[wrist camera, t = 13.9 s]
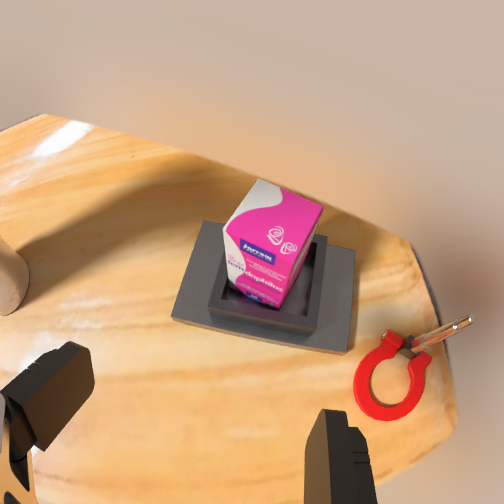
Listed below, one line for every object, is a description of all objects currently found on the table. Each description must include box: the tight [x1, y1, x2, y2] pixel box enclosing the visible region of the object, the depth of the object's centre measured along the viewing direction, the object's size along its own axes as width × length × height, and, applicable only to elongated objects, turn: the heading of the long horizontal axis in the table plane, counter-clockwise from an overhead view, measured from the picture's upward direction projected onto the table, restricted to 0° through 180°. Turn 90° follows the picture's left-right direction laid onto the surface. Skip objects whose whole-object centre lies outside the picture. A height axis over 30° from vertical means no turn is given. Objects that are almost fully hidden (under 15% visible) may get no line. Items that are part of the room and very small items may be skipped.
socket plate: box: [171, 221, 355, 355], centre depth 31 cm, size 18×12×4 cm, turn 78°
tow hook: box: [353, 313, 476, 421], centre depth 22 cm, size 8×13×9 cm
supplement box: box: [223, 178, 323, 311], centre depth 27 cm, size 6×6×12 cm
